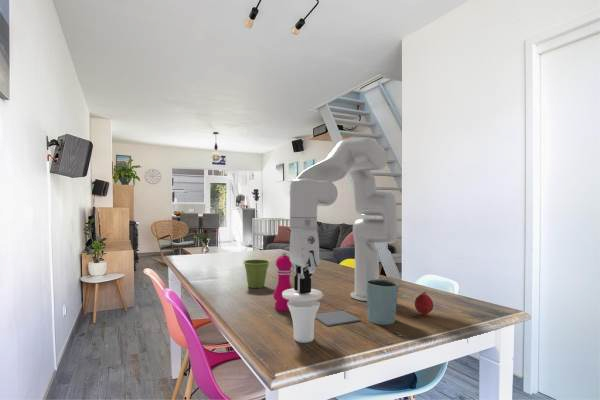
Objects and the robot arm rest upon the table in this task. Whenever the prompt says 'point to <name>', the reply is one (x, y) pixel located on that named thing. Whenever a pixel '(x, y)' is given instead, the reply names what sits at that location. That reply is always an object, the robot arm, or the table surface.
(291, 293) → the lid
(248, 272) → the plant pot
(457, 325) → the table surface
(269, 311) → the table surface
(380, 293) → the blue round container
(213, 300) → the table surface
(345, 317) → the mat
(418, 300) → the onion
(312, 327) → the cup
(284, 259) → the pepper mill
